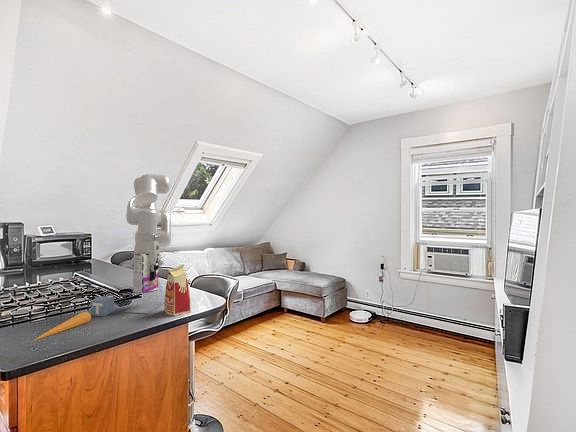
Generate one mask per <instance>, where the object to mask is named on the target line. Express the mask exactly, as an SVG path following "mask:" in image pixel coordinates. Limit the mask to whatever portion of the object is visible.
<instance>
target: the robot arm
mask: <svg viewBox="0 0 576 432" xmlns="http://www.w3.org/2000/svg"><path fill="white" fill-rule="evenodd" d="M170 181H171V180H170V178H169V177H168V176H167V175H163V174H151V173H150V174H149V173H148V174H146V173H145V174H143V175H141V176H140V177H136V178H135V179H134V181H133V188H134V193H135V195H134V196H133V197H132V198H131V199H130V200H129V201H128V202H127V207H126V215H125V216H126V217H125V218H126V222H127V223H128V224H129V225H132V226H137V230H136V231H135V233H134V244H135V245H134V249H133V250H134V251H133V255H134V254H138V253H145V254H149V265H150V267H151V270H152V271H151V272H150V281H153V280H155V278H156V271H157V269H158V270H159V269H160V268H161V267H162V266H163V265H164V261H163V260H162V259H161V249H160V248H165V247H169V246H170V245H171V242H172V220H171V219H172V218H171V213H170V212H169V211H167V210H163V209H162V210H159V209H157V202H156V201H157V200H158V194H162V195H163V194H168V193H169V190H170V188H171V182H170ZM156 263H159V264H158V265H157V266H156ZM129 264H130V265H132V267H133V266H134V256H133V257H132V258H131V259H130V261H129ZM159 287H160V286H159V285H158V288H155V289H153V290H150V291H148V292H154V291H157V290H159ZM131 290H132V291H133V286H132V287H131ZM148 292H147V293H148Z"/></svg>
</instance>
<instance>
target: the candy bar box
mask: <svg viewBox="0 0 576 432" xmlns="http://www.w3.org/2000/svg"><path fill="white" fill-rule="evenodd" d="M133 257H134V266H133V265H132V267H133V268H132V269H133V271H132V272H133V273H132V274H133V275H132V277H133V279H132V280H133V281H132V282H133V283H132V285H133V286H132V287H133V290H132V292H133V293H135V294H146V293H148V291H150V290H153V289H155V288H158V289H159V287H158V286H159V268H158V269H157V271H156V278H155V280H153V281H150V272H151V271H152V270H151V267H150V265H149V254H145V253H138V254H134V253H133ZM158 264H159V263H156V266H157V265H158ZM150 292H151V291H150Z"/></svg>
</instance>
